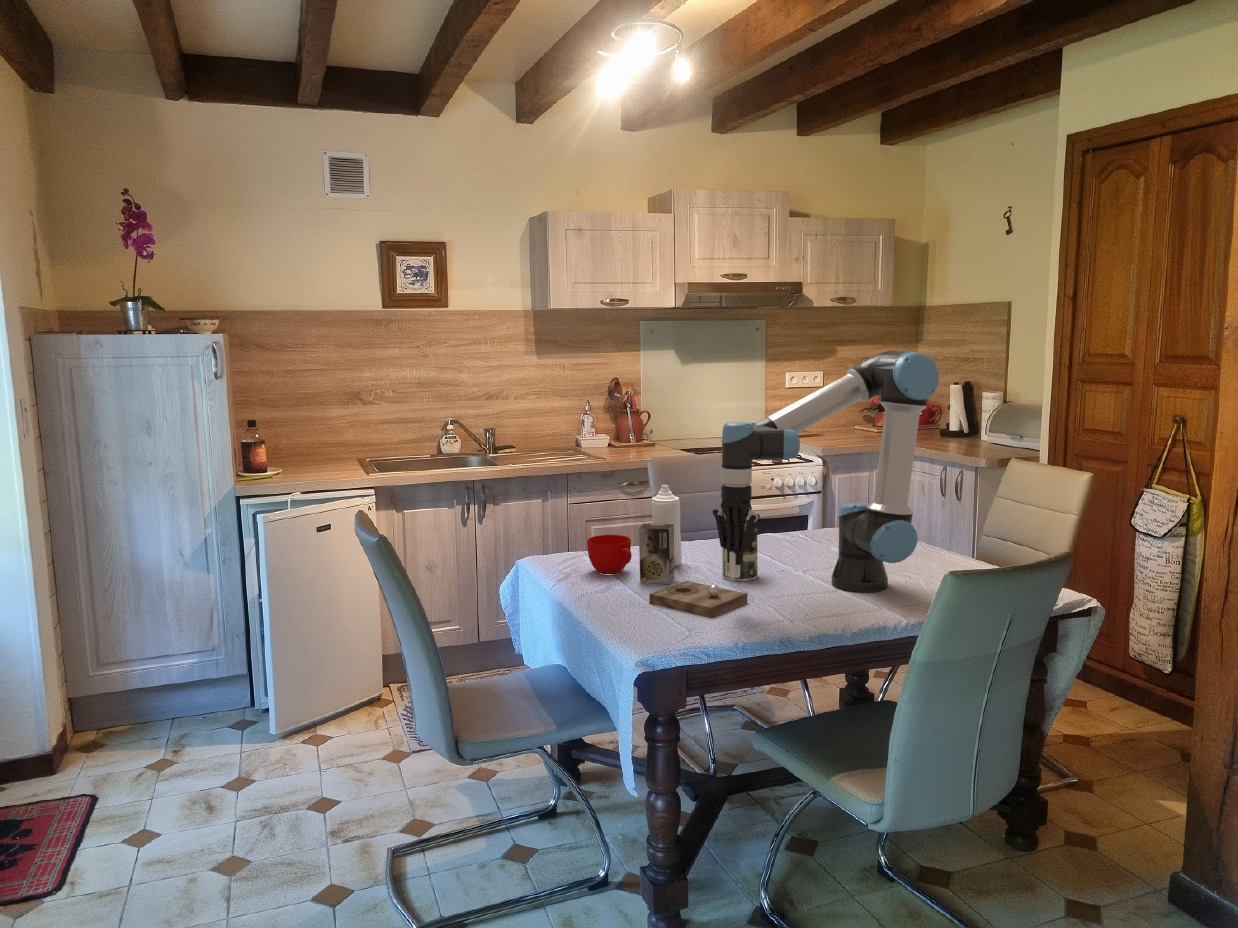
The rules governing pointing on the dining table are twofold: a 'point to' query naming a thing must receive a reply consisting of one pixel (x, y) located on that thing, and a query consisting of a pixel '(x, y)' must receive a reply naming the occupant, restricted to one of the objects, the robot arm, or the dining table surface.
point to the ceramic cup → (609, 553)
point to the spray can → (668, 517)
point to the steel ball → (713, 590)
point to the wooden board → (697, 599)
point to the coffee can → (747, 567)
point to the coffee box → (656, 553)
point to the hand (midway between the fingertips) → (734, 576)
